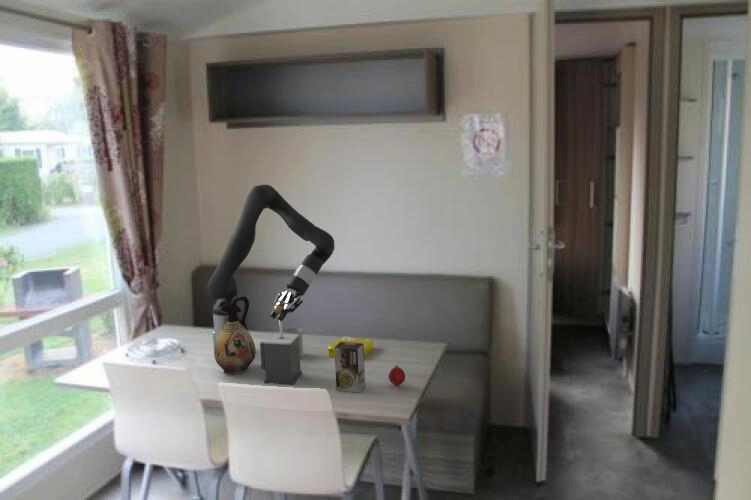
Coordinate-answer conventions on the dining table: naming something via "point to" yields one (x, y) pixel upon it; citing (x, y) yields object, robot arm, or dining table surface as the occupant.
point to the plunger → (277, 310)
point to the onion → (396, 376)
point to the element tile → (366, 342)
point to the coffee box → (349, 367)
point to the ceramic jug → (234, 339)
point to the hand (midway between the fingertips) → (275, 318)
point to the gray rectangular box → (281, 359)
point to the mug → (295, 331)
